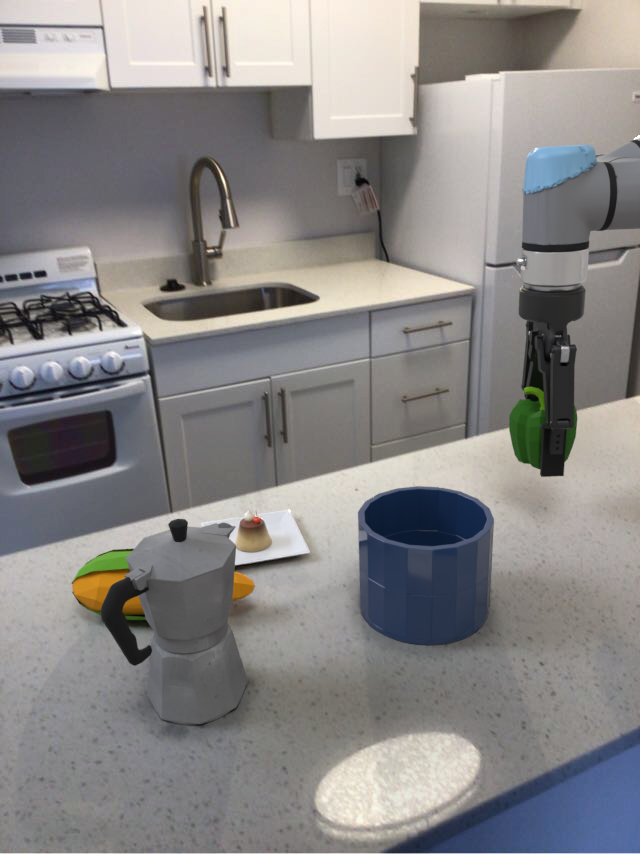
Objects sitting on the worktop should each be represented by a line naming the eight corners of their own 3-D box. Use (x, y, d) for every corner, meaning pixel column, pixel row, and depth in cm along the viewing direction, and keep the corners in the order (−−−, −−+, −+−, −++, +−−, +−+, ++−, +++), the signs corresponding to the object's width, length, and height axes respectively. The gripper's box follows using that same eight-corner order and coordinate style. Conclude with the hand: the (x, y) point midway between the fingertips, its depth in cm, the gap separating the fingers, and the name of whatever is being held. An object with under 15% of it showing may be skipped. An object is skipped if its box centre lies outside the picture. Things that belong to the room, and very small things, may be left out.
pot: (476, 569, 88) (479, 484, 85) (500, 644, 75) (506, 548, 71) (358, 572, 89) (356, 487, 85) (362, 647, 76) (360, 551, 72)
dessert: (310, 560, 92) (309, 525, 90) (212, 577, 89) (208, 541, 87) (289, 516, 103) (287, 484, 101) (201, 530, 100) (197, 497, 98)
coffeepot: (209, 637, 78) (192, 480, 72) (281, 669, 73) (269, 503, 67) (90, 729, 67) (56, 551, 60) (165, 775, 61) (137, 586, 55)
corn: (79, 533, 84) (257, 532, 83) (91, 589, 87) (263, 589, 86) (54, 573, 77) (247, 573, 76) (68, 632, 81) (254, 633, 79)
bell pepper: (589, 463, 97) (595, 389, 93) (547, 481, 92) (552, 405, 89) (537, 444, 103) (541, 374, 100) (495, 461, 99) (497, 388, 95)
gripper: (502, 271, 99) (497, 432, 107) (543, 304, 80) (532, 498, 88) (560, 268, 99) (550, 429, 107) (615, 301, 79) (598, 495, 88)
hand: (542, 460), depth 97 cm, fingers closed on bell pepper, 8 cm apart
